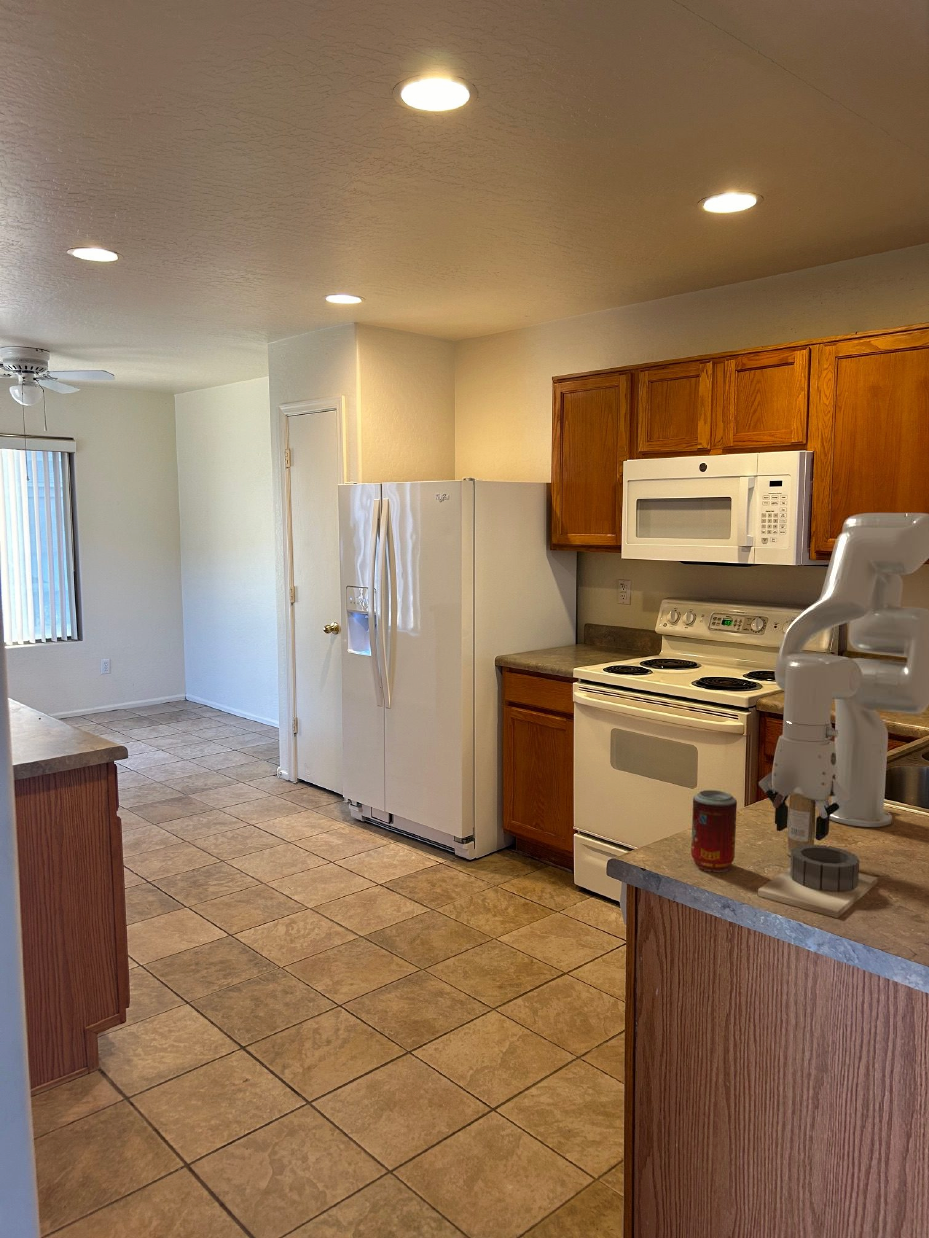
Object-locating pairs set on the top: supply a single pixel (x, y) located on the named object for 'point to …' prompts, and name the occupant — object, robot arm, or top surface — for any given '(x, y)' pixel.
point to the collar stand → (820, 880)
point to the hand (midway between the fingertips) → (801, 832)
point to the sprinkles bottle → (800, 821)
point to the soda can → (713, 830)
